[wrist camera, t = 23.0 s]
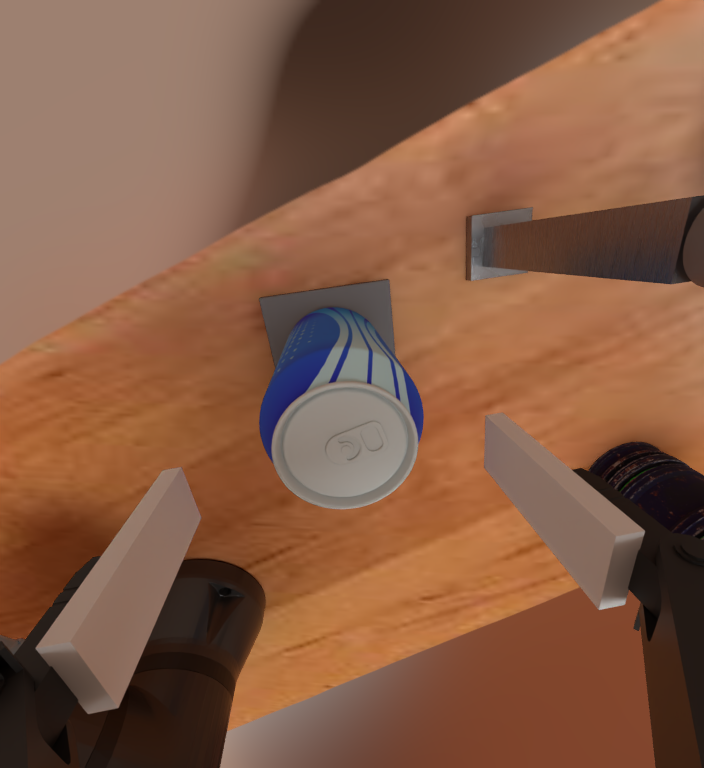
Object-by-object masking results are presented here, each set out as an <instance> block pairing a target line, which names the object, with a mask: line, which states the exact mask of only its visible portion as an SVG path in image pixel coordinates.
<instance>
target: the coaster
mask: <svg viewBox="0 0 704 768" xmlns="http://www.w3.org/2000/svg"><path fill="white" fill-rule="evenodd" d="M259 301H260V305H261V309H262V314H263V318H264V322H265V326H266V331H267V335H268V339H269V343H270V348H271V352H272V356H273V361H274V365H275V369H276V366H277V364H278V361H279V359H280V356H281V354H282V351H283V349H284V346H285V344H286V342H287V339H288V337H289V334H290V333H291V331H292V329H293V328H294V326H295V325H296V324H297V323H298V322H299V321H300V320H301V319H302V318H303V317H305V316H306V315H308V314H310V313H312V312H314V311H316V310H319V309H323V308H329V307H339V308H345V309H349V310H352V311H354V312H356V313H358V314H360V315H362V316H363V317H364V318H366V319H367V320H368V321H369V322H370V323H371V324H372V325H373V327H374V328H375V330H376V331H377V332H378V334H379V335H380V336H381V338H382V339H383V341H384V342H385V343H386V345H387V346H388V347H389V349H390V350H391V352H392V353H393V354H394V356H395V346H394V333H393V321H392V309H391V296H390V284H389V280H388V279H386V280H379V281H372V282H365V283H358V284H351V285H344V286H337V287H330V288H323V289H316V290H309V291H303V292H296V293H289V294H282V295H275V296H268V297H261V298H259Z"/></svg>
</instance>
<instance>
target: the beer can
mask: <svg viewBox="0 0 704 768" xmlns="http://www.w3.org/2000/svg"><path fill="white" fill-rule="evenodd" d="M259 425H260V434H261V439H262V442H263V445H264V448H265V450H266V452H267V454H268V456H269V458H270V459H271V461H272V462H273V464H274V466H275V469H276V471H277V473H278V475H279V477H280V479H281V480H282V482H283V483H284V484H285V485H286V487H287V488H288V489H289V490H290V491H292V492H293V493H294V494H295V495H297V496H298V497H300V498H301V499H303V500H305V501H307V502H309V503H311V504H314V505H317V506H320V507H325V508H331V509H352V508H358V507H363V506H366V505H369V504H372V503H374V502H377V501H379V500H381V499H383V498H384V497H386V496H388V495H389V494H391V493H392V492H393V491H394V490H396V489H397V488H398V487H399V486H400V485H401V484H402V483H403V482H404V480H405V479H406V478H407V476H408V475H409V473H410V472H411V470H412V468H413V465H414V463H415V460H416V456H417V451H418V444H419V441H420V438H421V434H422V429H423V407H422V402H421V398H420V395H419V393H418V390H417V388H416V386H415V384H414V382H413V381H412V379H411V378H410V376H409V375H408V374H407V372H406V371H405V369H404V368H403V367H402V365H401V364H400V363H399V361H398V360H397V358H396V357H395V356H394V354H393V353H392V352H391V350H390V349H389V347H388V346H387V345H386V343H385V342H384V341H383V339H382V338H381V336H380V335H379V334H378V332H377V331H376V330H375V328H374V327H373V325H372V324H371V323H370V322H369V321H368V320H367V319H366V318H364V317H363V316H362V315H360V314H358V313H356V312H354V311H352V310H349V309H345V308H339V307H329V308H323V309H319V310H316V311H314V312H312V313H310V314H308V315H306V316H305V317H303V318H302V319H301V320H300V321H299V322H298V323H297V324H296V325H295V326H294V328H293V329H292V331H291V333H290V334H289V337H288V339H287V342H286V344H285V346H284V349H283V351H282V354H281V356H280V359H279V361H278V364H277V366H276V369H275V371H274V374H273V376H272V379H271V381H270V384H269V386H268V388H267V391H266V393H265V396H264V398H263V402H262V405H261V411H260V420H259Z"/></svg>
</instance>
